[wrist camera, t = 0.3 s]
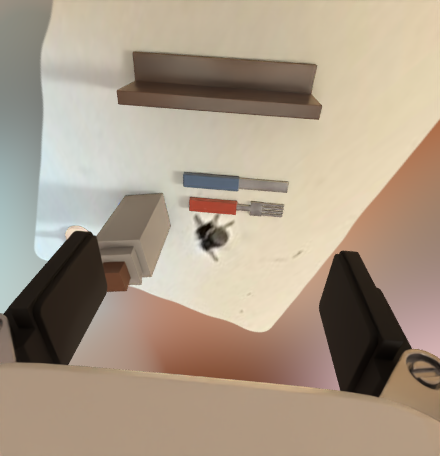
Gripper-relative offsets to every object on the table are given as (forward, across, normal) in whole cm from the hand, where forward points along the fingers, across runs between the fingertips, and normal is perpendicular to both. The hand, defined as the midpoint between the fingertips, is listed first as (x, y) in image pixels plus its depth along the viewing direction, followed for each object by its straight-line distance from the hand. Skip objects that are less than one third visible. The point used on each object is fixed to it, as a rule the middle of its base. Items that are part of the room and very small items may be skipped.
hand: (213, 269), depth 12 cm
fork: (+37, -1, +17) cm, 40 cm away
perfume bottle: (+37, +14, +19) cm, 44 cm away
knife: (+37, -1, +13) cm, 39 cm away
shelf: (+36, +2, -3) cm, 36 cm away
